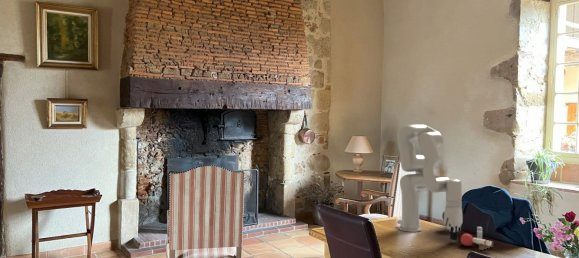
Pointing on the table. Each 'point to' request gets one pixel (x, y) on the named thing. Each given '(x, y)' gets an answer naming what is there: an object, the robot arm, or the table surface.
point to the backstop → (485, 246)
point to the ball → (466, 239)
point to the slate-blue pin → (479, 233)
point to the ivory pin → (482, 241)
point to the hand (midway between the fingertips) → (453, 239)
